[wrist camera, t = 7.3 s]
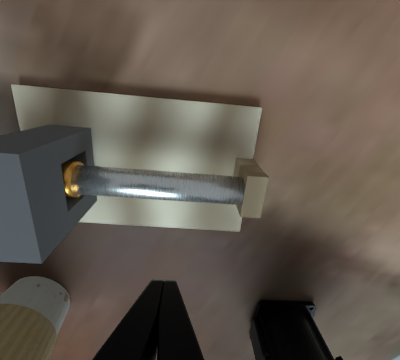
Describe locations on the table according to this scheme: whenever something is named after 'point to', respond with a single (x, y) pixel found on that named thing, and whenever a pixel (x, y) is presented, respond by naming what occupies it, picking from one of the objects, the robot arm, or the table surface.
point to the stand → (157, 149)
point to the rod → (151, 184)
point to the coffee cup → (31, 318)
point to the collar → (39, 190)
